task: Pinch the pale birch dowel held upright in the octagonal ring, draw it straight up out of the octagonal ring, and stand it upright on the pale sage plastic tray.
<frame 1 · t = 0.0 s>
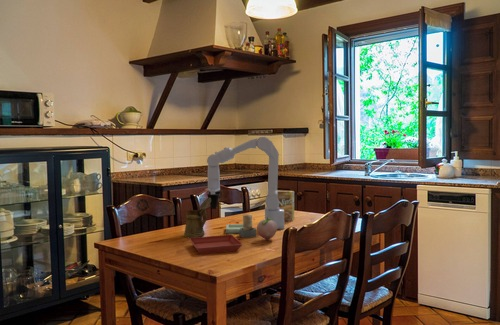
hand: (214, 207, 219), 10 cm above the table, tool pointing down, fingers open, 7 cm apart
candy box: (285, 220, 240), on the table
octagonal ring: (247, 235, 203), on the table
decorative fruit: (266, 240, 193), on the table
plant saucer: (215, 249, 181), on the table
dowel: (247, 225, 202), in the octagonal ring
tray: (238, 230, 213), on the table
olive green tall piece: (198, 236, 203), on the table
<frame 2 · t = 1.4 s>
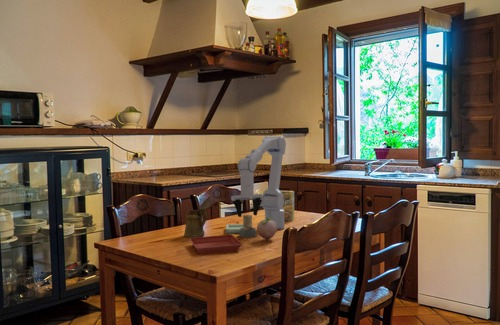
hand: (247, 215, 202), 9 cm above the table, tool pointing down, fingers open, 7 cm apart
nothing on the table moved.
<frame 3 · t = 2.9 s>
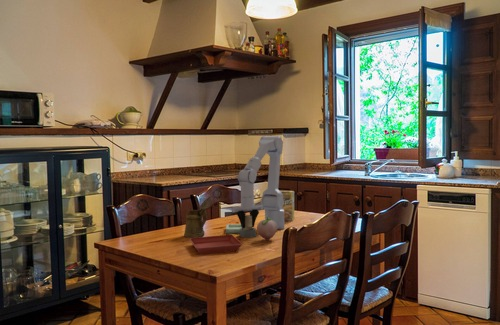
hand: (247, 227, 202), 4 cm above the table, tool pointing down, fingers closed on dowel, 4 cm apart
dowel: (247, 225, 202), in the octagonal ring, touching gripper
everything else where it was.
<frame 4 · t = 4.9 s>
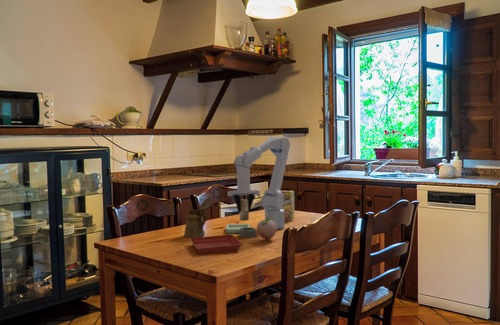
hand: (244, 211, 206), 10 cm above the table, tool pointing down, fingers closed on dowel, 4 cm apart
dowel: (244, 209, 206), point 11 cm above the table, touching gripper
everything else where it was.
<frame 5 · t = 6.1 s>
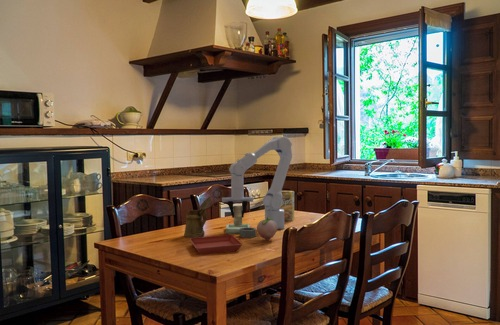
hand: (237, 217, 213), 6 cm above the table, tool pointing down, fingers closed on dowel, 4 cm apart
dowel: (237, 215, 213), point 7 cm above the table, touching gripper
everything else where it was.
when the fingers open (6 cm above the table, at t = 7.0 s): dowel drops 1 cm, resting on tray.
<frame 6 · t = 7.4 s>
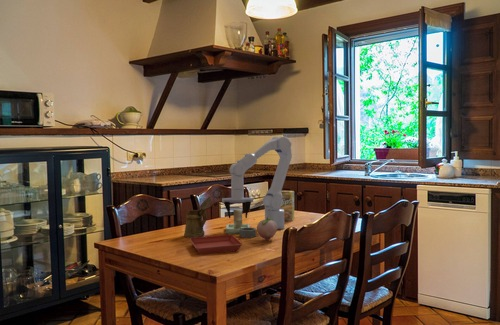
hand: (237, 217, 213), 6 cm above the table, tool pointing down, fingers open, 7 cm apart
dowel: (237, 219, 213), in the tray, point 5 cm above the table
everything else where it was.
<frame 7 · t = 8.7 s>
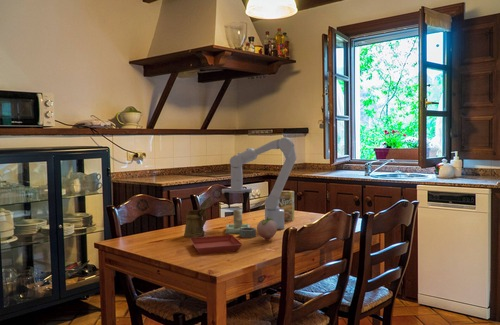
hand: (237, 207, 222), 9 cm above the table, tool pointing down, fingers open, 7 cm apart
nothing on the table moved.
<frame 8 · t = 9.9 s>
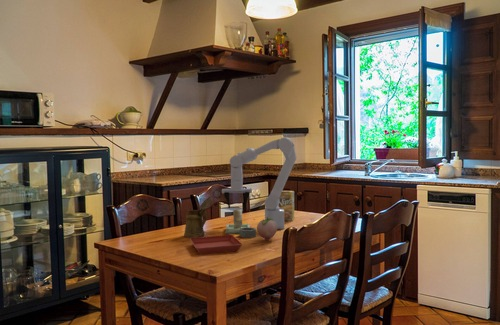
hand: (237, 207, 222), 9 cm above the table, tool pointing down, fingers open, 7 cm apart
nothing on the table moved.
at the end: dowel inside the target area on the tray (0.1 cm from its centre), point 5.3 cm above the tray's base; dowel tilted 1°; the gripper is holding nothing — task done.
